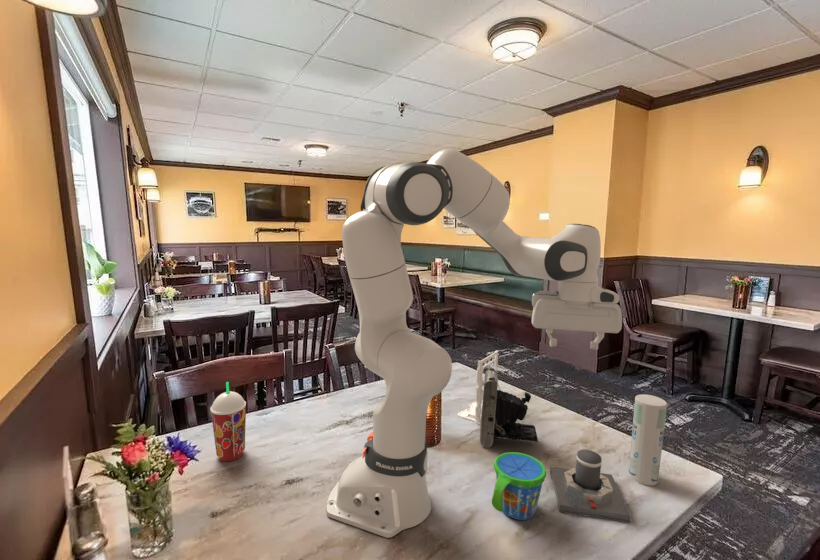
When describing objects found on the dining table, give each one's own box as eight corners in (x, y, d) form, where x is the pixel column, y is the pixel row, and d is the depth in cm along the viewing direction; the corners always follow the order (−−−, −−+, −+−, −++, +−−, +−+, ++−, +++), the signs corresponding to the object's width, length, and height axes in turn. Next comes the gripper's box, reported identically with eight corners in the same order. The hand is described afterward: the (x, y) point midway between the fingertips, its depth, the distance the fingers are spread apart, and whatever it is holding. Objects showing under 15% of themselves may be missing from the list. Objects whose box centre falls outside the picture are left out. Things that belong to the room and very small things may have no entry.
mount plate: (559, 511, 84) (560, 496, 84) (550, 471, 98) (551, 458, 97) (630, 522, 82) (631, 507, 81) (611, 480, 95) (612, 466, 95)
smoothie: (253, 455, 103) (250, 382, 100) (221, 469, 97) (216, 392, 94) (239, 443, 109) (236, 373, 106) (208, 455, 103) (203, 382, 100)
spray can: (658, 489, 92) (667, 408, 89) (627, 480, 95) (634, 401, 93) (658, 474, 97) (666, 398, 95) (628, 466, 101) (635, 392, 98)
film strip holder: (474, 400, 137) (476, 345, 135) (512, 412, 129) (515, 353, 127) (454, 416, 126) (455, 356, 123) (494, 430, 118) (497, 366, 115)
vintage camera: (537, 456, 105) (544, 385, 103) (478, 447, 108) (484, 378, 106) (533, 438, 115) (539, 372, 112) (479, 430, 118) (484, 366, 115)
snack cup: (521, 482, 94) (523, 442, 92) (560, 509, 85) (563, 465, 84) (473, 509, 85) (475, 465, 83) (511, 541, 76) (514, 493, 75)
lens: (576, 494, 88) (579, 460, 87) (572, 479, 93) (574, 448, 92) (601, 497, 87) (604, 464, 86) (595, 483, 92) (598, 451, 91)
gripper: (533, 292, 94) (530, 348, 96) (627, 296, 90) (621, 354, 92) (531, 288, 100) (528, 340, 102) (618, 292, 96) (613, 346, 98)
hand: (573, 347), depth 97 cm, fingers open, 8 cm apart
